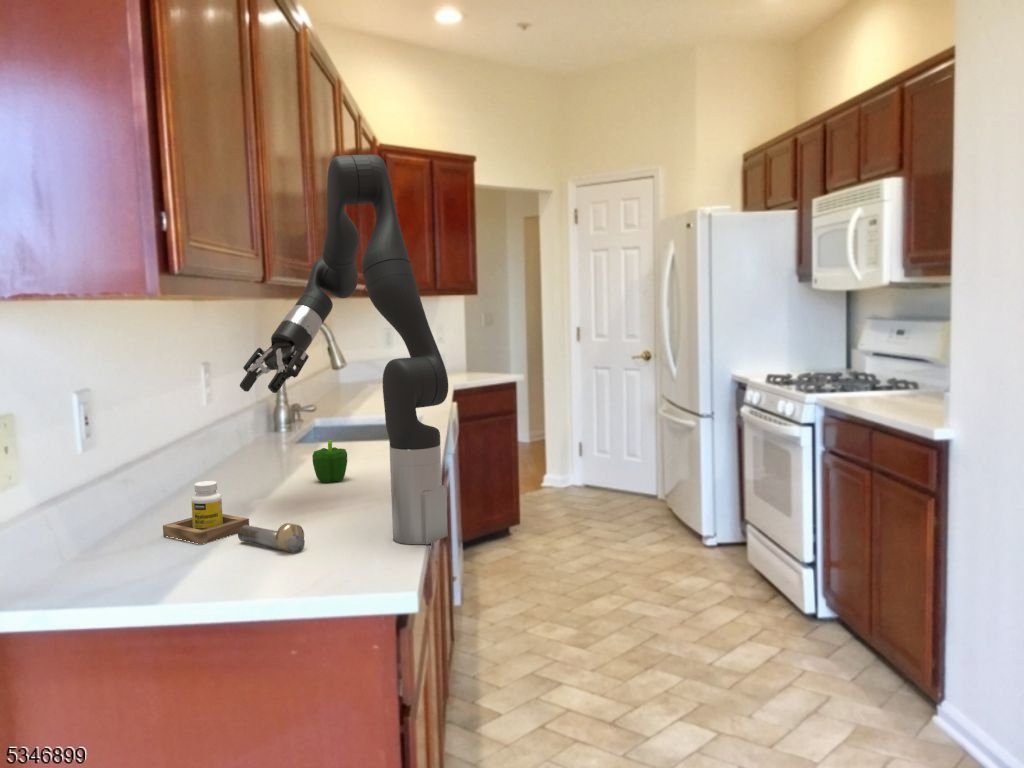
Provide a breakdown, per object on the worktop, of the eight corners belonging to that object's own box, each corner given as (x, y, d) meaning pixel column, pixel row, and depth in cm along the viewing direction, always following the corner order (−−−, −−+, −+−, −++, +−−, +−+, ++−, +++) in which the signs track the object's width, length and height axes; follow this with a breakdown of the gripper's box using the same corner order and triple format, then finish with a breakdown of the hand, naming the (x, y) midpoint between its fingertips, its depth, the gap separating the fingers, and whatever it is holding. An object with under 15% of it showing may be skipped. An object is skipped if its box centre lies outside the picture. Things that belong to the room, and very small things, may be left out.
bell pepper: (340, 485, 190) (338, 444, 189) (308, 484, 191) (306, 443, 190) (353, 477, 198) (352, 438, 197) (323, 476, 199) (321, 438, 198)
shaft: (308, 548, 139) (307, 522, 138) (288, 556, 135) (286, 529, 134) (255, 537, 146) (254, 512, 146) (234, 544, 142) (232, 518, 142)
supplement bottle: (191, 538, 147) (188, 487, 146) (195, 530, 152) (192, 481, 151) (222, 535, 148) (219, 485, 147) (224, 528, 154) (221, 478, 153)
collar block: (249, 529, 152) (248, 518, 152) (200, 544, 143) (199, 533, 142) (212, 522, 158) (212, 511, 158) (163, 536, 148) (162, 525, 148)
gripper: (264, 319, 169) (222, 377, 160) (310, 318, 161) (270, 378, 153) (284, 343, 174) (245, 400, 165) (330, 343, 166) (292, 402, 158)
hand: (257, 389), depth 159 cm, fingers open, 8 cm apart
